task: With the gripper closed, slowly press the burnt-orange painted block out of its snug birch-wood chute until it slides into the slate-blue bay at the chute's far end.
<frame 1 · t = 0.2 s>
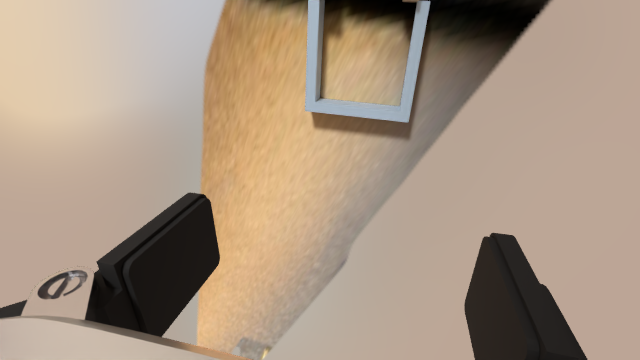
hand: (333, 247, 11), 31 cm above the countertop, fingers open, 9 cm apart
bay: (363, 54, 36), on the countertop
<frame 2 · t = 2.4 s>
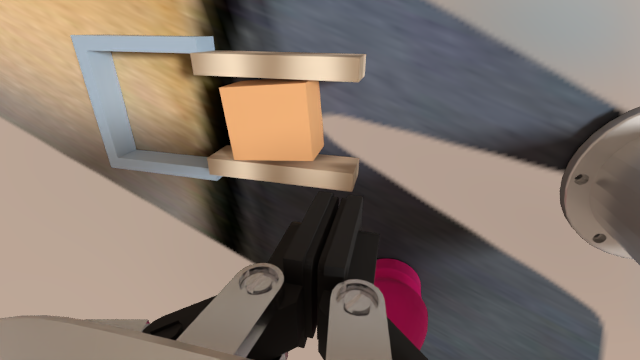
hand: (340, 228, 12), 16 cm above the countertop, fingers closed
bay: (171, 106, 30), on the countertop
chute: (242, 110, 29), on the countertop
pepper mill: (389, 280, 33), on the countertop
block: (284, 113, 28), on the countertop
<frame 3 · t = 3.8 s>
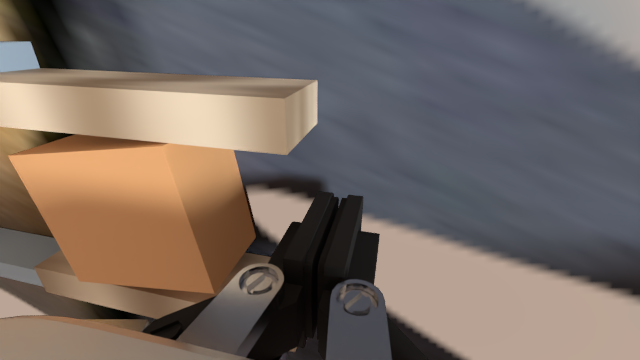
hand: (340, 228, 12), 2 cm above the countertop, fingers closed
chute: (108, 174, 16), on the countertop
block: (180, 181, 15), on the countertop
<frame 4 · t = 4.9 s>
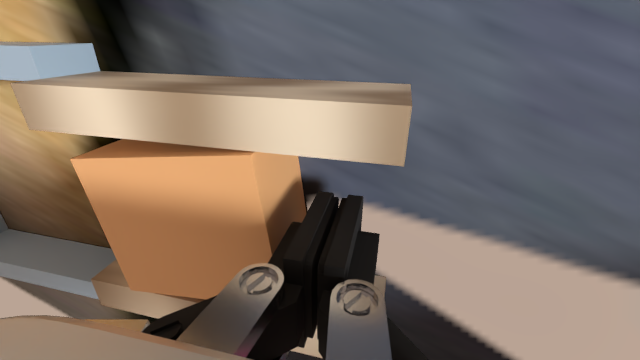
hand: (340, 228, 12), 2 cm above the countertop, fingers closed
bay: (45, 166, 17), on the countertop
chute: (164, 182, 15), on the countertop
block: (233, 186, 15), on the countertop
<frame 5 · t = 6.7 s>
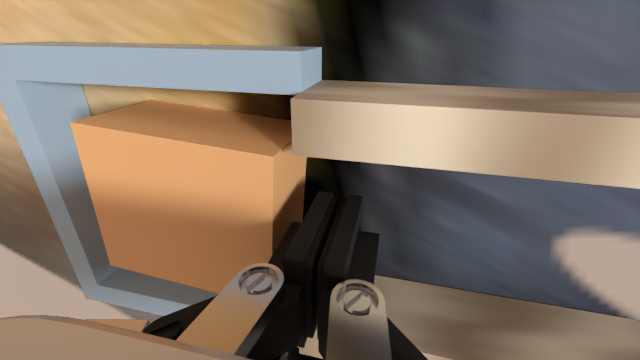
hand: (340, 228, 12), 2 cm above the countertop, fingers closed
bay: (207, 187, 15), on the countertop
chute: (366, 208, 13), on the countertop
block: (232, 174, 14), on the countertop, touching gripper
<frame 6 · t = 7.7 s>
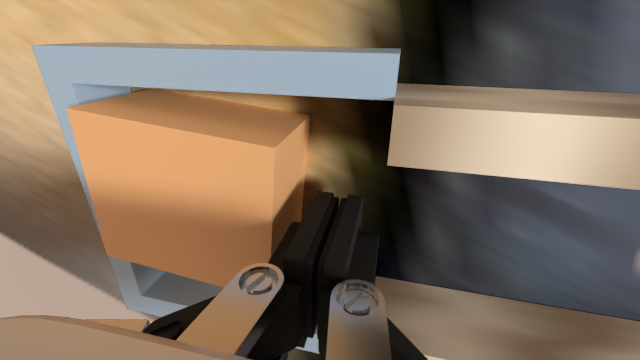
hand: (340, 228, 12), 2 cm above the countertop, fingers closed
bay: (259, 195, 14), on the countertop
chute: (433, 217, 12), on the countertop
block: (232, 166, 14), on the countertop
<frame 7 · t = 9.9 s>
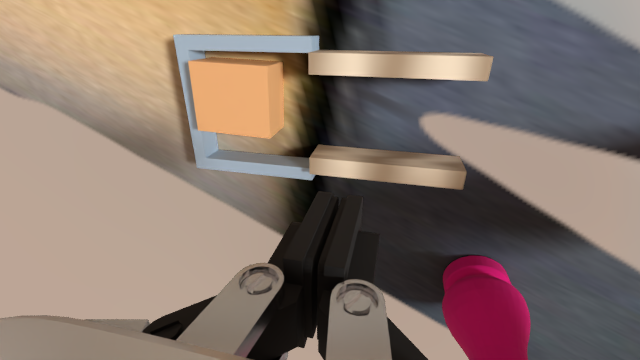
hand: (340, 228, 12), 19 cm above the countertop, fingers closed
bay: (263, 105, 30), on the countertop
chute: (339, 110, 29), on the countertop
pepper mill: (473, 277, 33), on the countertop
block: (249, 92, 30), on the countertop
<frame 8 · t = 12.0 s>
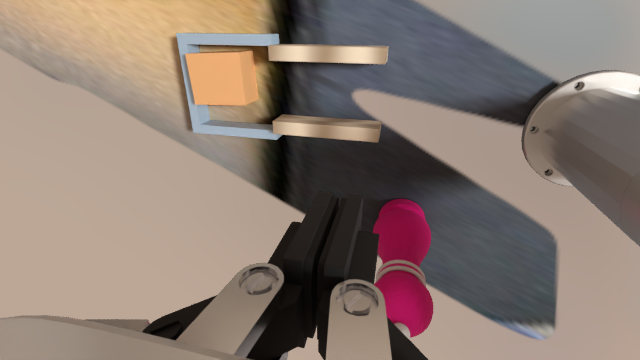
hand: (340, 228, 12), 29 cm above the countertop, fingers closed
bay: (241, 85, 41), on the countertop
chute: (296, 88, 40), on the countertop
pepper mill: (401, 216, 44), on the countertop
block: (231, 75, 41), on the countertop
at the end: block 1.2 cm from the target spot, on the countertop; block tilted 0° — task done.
